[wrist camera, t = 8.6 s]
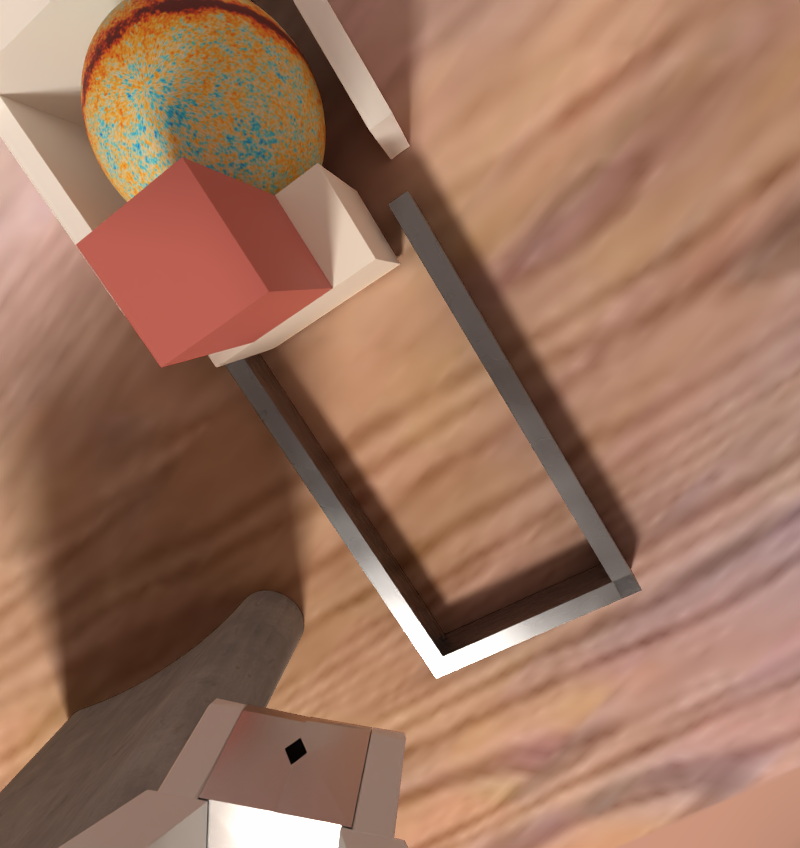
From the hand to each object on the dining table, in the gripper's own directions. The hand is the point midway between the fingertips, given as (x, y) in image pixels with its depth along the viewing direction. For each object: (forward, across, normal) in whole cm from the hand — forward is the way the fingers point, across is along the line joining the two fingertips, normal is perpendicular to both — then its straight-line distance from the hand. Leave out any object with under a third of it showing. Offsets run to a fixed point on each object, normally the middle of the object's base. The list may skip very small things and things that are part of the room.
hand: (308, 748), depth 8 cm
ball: (+15, +7, -11) cm, 20 cm away
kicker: (+15, +4, -7) cm, 17 cm away
